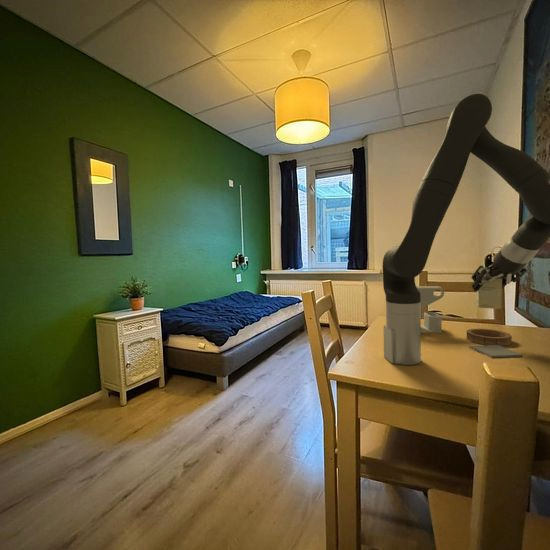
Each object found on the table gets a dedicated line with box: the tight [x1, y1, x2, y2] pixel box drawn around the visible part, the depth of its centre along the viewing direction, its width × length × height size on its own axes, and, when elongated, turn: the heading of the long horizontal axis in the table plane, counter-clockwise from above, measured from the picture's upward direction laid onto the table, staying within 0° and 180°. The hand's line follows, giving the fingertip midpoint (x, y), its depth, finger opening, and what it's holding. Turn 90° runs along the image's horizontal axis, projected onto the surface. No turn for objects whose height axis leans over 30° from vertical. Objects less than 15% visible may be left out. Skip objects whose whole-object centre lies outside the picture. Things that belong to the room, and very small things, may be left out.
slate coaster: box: [469, 344, 523, 358], centre depth 88 cm, size 9×9×1 cm
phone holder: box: [416, 285, 445, 334], centre depth 116 cm, size 17×10×18 cm, turn 79°
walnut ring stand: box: [466, 327, 513, 347], centre depth 100 cm, size 12×12×2 cm
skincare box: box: [475, 273, 503, 310], centre depth 95 cm, size 6×4×12 cm
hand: (485, 288), depth 96 cm, fingers closed on skincare box, 7 cm apart
